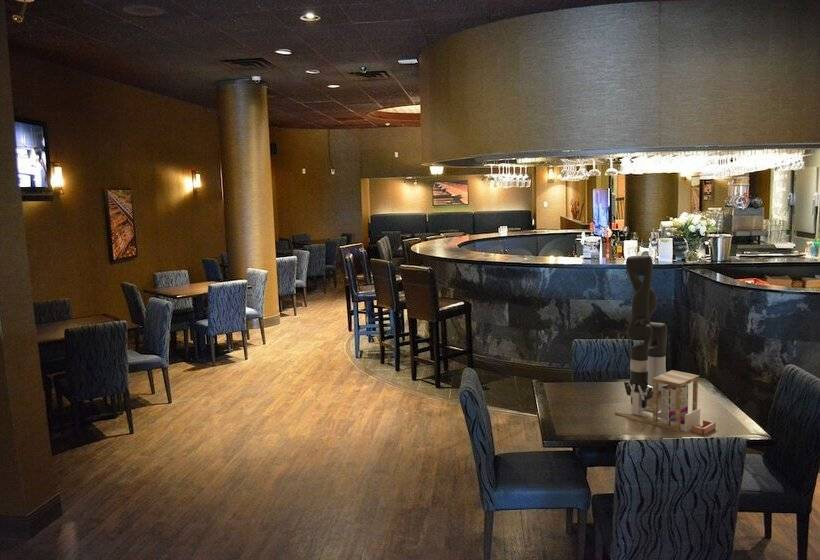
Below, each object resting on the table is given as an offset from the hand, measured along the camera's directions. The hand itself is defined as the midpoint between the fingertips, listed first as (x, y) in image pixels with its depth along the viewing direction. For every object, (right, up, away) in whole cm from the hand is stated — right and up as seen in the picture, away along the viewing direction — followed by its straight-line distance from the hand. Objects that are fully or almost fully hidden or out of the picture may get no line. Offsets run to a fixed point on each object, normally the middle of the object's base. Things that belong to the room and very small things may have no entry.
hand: (638, 406), depth 299 cm
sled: (+8, -4, -8) cm, 12 cm away
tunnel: (+5, -4, -6) cm, 9 cm away
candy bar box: (+11, -5, -12) cm, 17 cm away
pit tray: (+19, -6, -22) cm, 30 cm away
